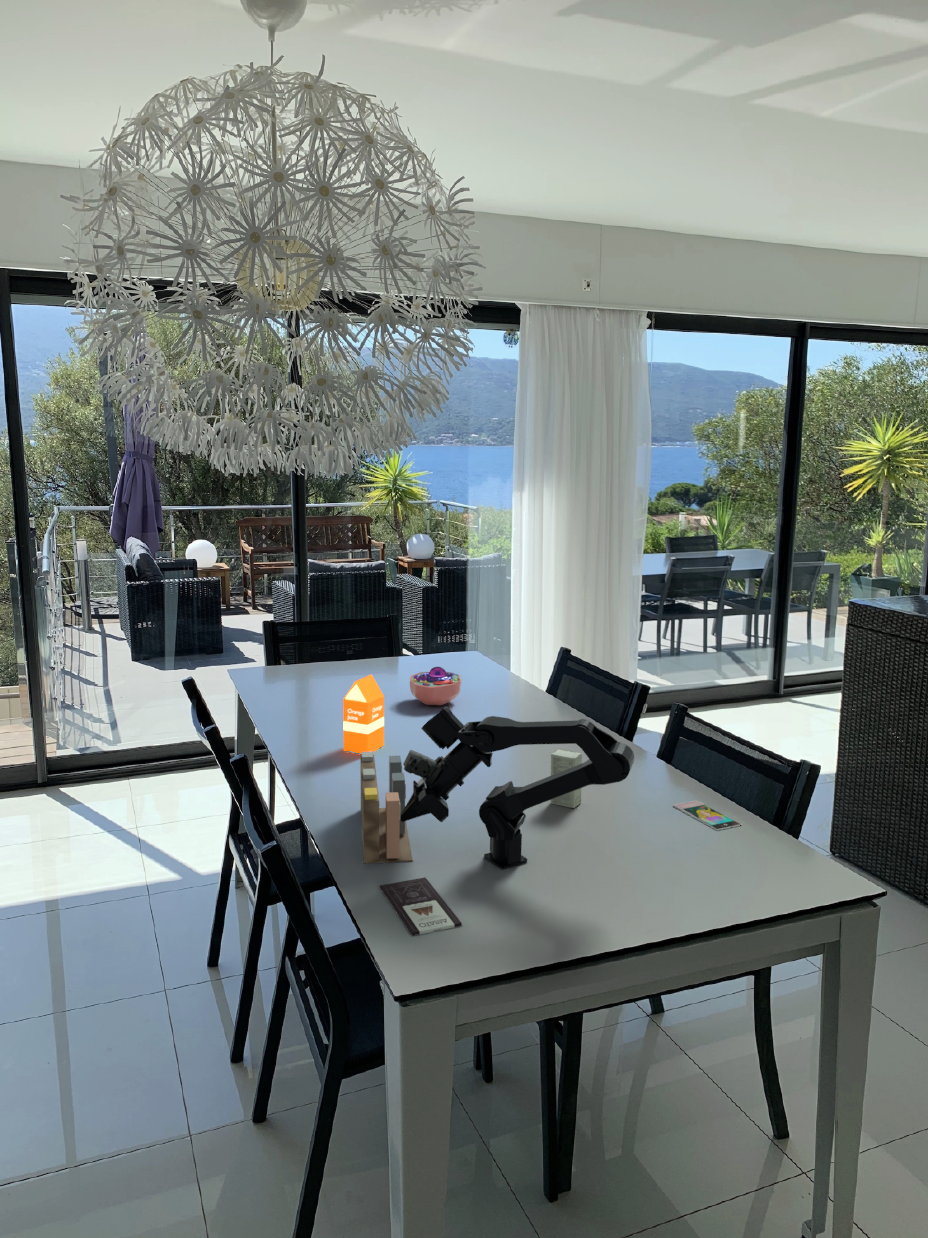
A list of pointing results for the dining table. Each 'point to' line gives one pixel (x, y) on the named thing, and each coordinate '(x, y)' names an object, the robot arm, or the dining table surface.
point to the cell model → (435, 686)
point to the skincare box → (560, 763)
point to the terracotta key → (392, 825)
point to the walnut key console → (376, 818)
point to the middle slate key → (400, 794)
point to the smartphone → (706, 815)
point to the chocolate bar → (420, 906)
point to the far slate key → (394, 768)
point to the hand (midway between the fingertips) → (400, 819)
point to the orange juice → (363, 716)
